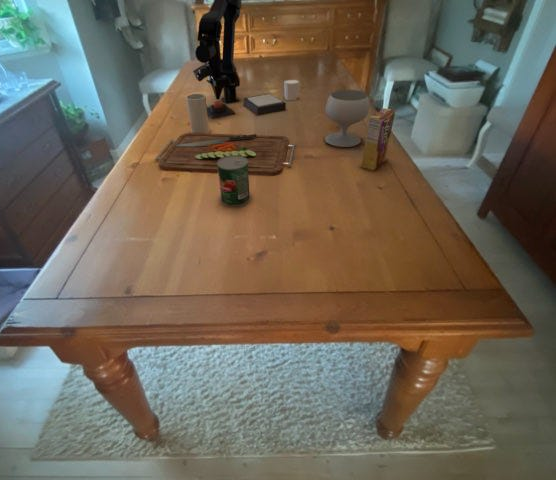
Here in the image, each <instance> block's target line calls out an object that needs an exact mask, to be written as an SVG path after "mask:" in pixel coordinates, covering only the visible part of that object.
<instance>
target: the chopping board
mask: <svg viewBox="0 0 556 480" xmlns="http://www.w3.org/2000/svg"><path fill="white" fill-rule="evenodd" d="M169 146H170V147H169ZM295 147H296V143H295V142H294V143H292V144H290V139H289V138H288V136H283V135H264V134H263V135H262V134H261V135H260V134H259V135H258V134H256V133H254V134H236V133H235V134H234V133H233V134H232V133H209V134H204V133H191V132H187V133H182V134H180V135H179V136H177V138H176V140H174V139H173V138H171V139H170V140H169V141H168V143H166V145H165V146H164V147H163V148H162V150H160V152H159V153H158V154H157V156H156V157H155V158H154V161H155V162H157V161H158V163H157V164H158V168H159V170H162V171H171V172H173V171H174V172H192V173H210V174H211V173H212V174H219V173H218V165H217V162H218V160H219V159H221V158H223V157H225V156H230V155H239V156H243V157H245V158H247V160H248V175H249V176H250V175H251V176H277V175H280V174H282V173H283V171H284V167H285V165H287V167H288V168H291V167H292V162H293V157H294V152H295ZM289 148H291V150H290V155H289V160H288V162H286V157H287V153H288V149H289ZM164 152H165V153H164ZM163 153H164V154H163ZM162 155H163V156H162ZM161 156H162V157H161Z"/></svg>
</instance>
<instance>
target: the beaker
mask: <svg viewBox="0 0 556 480" xmlns="http://www.w3.org/2000/svg"><path fill="white" fill-rule="evenodd" d="M185 99H186V100H185V101H186V108H187V114H188V120H189V126H190V133H204V134H211V133H210V132H211V130H210V123H209V115H208V113H207V108H208V107H207V97H206V95H205V94H204V93H191V94H188V95H186V96H185Z"/></svg>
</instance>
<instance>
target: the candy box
mask: <svg viewBox="0 0 556 480" xmlns="http://www.w3.org/2000/svg"><path fill="white" fill-rule="evenodd" d="M395 114H396V110H395V109H392V108H391V109H390V108H384V107H383V108H381V109H380V110H378V111H377V112H375V113H374V114H372V115H370V116H369V117H368V124H367V129H366V136H365V141H364V148H363V153H362V154H363V155H362V161H361V168H363V169H366V170H368V171H374V170H376V169H377V168H378V167H379V166H380V165H381V164H382V163H384V162H385V161H386V160H387V154H388V149H389V145H390V140H391V134H392V129H393V124H394V119H395Z"/></svg>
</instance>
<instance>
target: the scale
mask: <svg viewBox="0 0 556 480" xmlns="http://www.w3.org/2000/svg"><path fill="white" fill-rule="evenodd" d="M242 101H243V106H244V107H245V108H246V109H248V110H249V111H251V112H252V113H253V114H255V115H256V116H257V117H258V116H259V117H260V116H262V115H267V114H273V113H279V112H284V111H286V109H287V102H285V101H284V100H283V99H280V98H279V97H277V96H275V95H273V94H272V93H270V92H269V93H264V94H257V95H253V96H248V97H243V98H242Z"/></svg>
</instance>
